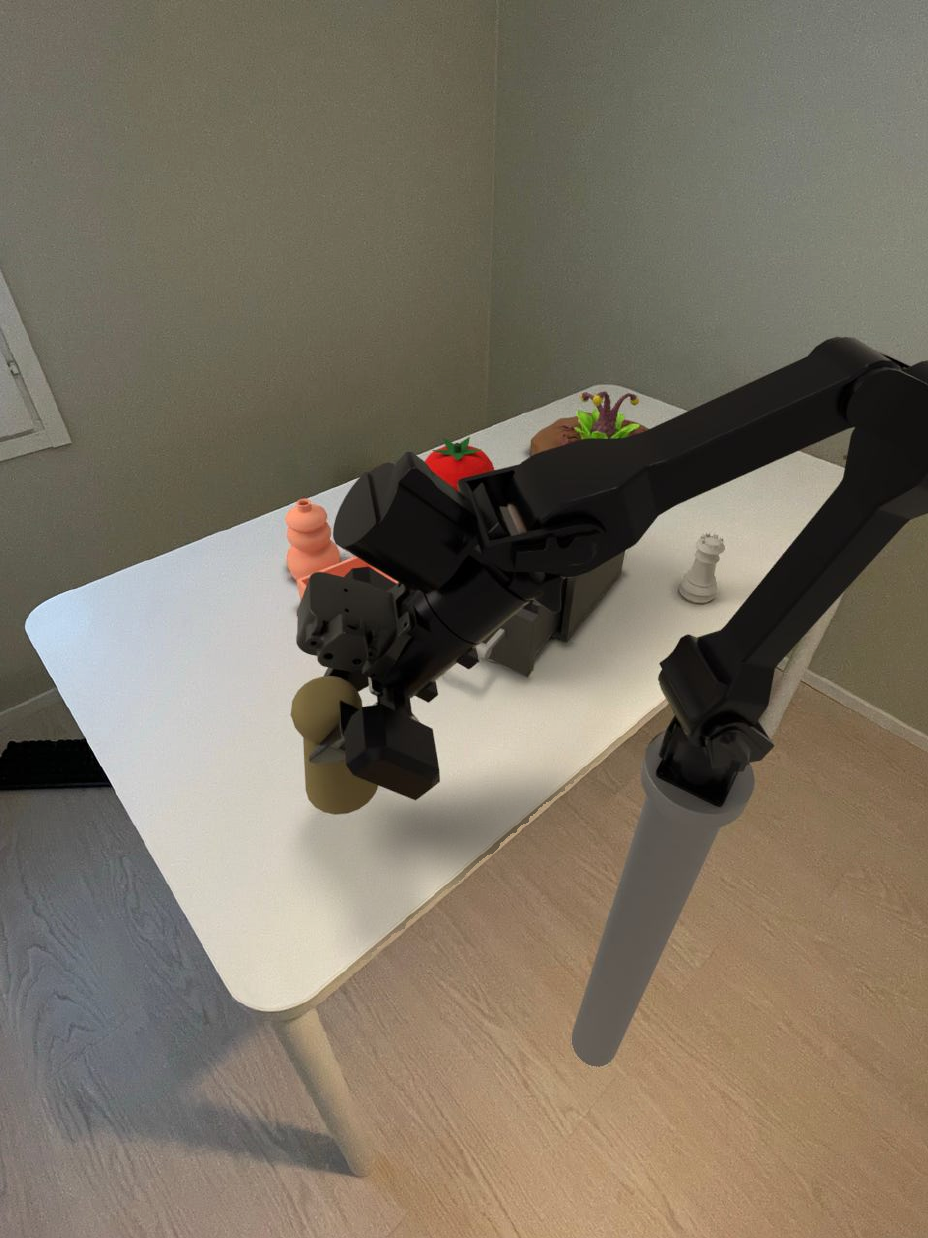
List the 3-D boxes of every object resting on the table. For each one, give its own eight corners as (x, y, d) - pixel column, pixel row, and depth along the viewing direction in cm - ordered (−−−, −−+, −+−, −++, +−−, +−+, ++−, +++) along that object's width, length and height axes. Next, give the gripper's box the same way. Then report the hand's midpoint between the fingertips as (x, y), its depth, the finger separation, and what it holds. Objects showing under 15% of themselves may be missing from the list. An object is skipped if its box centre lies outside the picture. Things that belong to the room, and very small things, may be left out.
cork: (291, 800, 57) (264, 712, 50) (328, 744, 61) (308, 655, 54) (357, 824, 55) (340, 737, 48) (391, 765, 59) (380, 676, 52)
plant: (507, 454, 109) (510, 385, 102) (588, 416, 119) (596, 350, 112) (608, 507, 99) (621, 434, 91) (688, 460, 109) (705, 390, 101)
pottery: (411, 618, 81) (407, 550, 75) (338, 652, 77) (327, 582, 71) (337, 543, 92) (327, 477, 86) (270, 569, 88) (254, 502, 82)
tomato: (504, 525, 95) (507, 459, 89) (429, 536, 94) (426, 469, 87) (484, 485, 103) (485, 421, 96) (413, 494, 101) (410, 430, 94)
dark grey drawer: (507, 703, 71) (511, 647, 65) (406, 653, 76) (402, 598, 71) (585, 606, 82) (594, 551, 76) (493, 568, 87) (495, 514, 82)
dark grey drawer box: (566, 642, 79) (576, 574, 72) (463, 598, 84) (463, 530, 78) (621, 573, 88) (634, 507, 81) (524, 537, 93) (529, 472, 87)
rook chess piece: (691, 576, 87) (706, 522, 82) (722, 593, 85) (740, 539, 80) (670, 592, 85) (684, 538, 80) (701, 610, 83) (718, 555, 77)
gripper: (353, 472, 50) (229, 606, 56) (369, 659, 36) (203, 809, 42) (464, 550, 56) (341, 663, 62) (513, 734, 42) (350, 856, 49)
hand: (313, 734), depth 54 cm, fingers closed on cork, 5 cm apart
